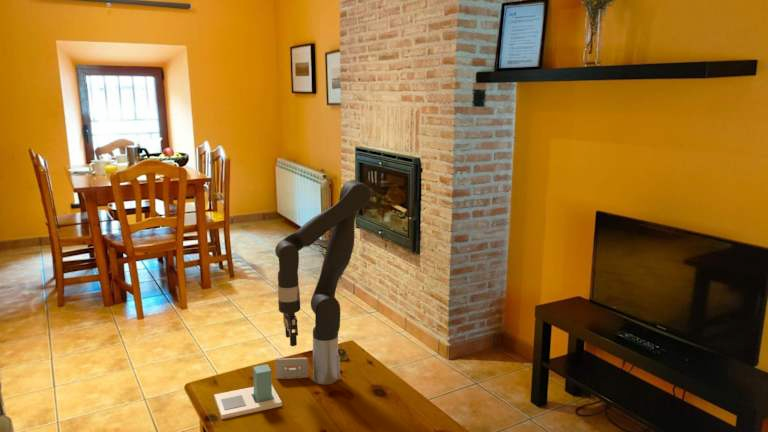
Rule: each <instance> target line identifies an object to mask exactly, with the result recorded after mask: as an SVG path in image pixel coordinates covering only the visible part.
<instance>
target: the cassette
mask: <svg viewBox="0 0 768 432" xmlns="http://www.w3.org/2000/svg"><path fill="white" fill-rule="evenodd" d="M275 378H276V380H277V379H279V380H280V379H281V380H284V379H285V380H287V379H289V380H290V379H303V378H309V358H308V357H289V358H287V357H286V358H276V359H275Z"/></svg>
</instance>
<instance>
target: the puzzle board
mask: <svg viewBox="0 0 768 432" xmlns="http://www.w3.org/2000/svg"><path fill="white" fill-rule="evenodd" d="M213 399H214V402H215V405H216V407H217V411H218V412H219V416H220V418H221V420H225V419H228V418H229V419H230V418H233V417H238V416H242V415H247V414H252V413H256V412H260V411H266V410H270V409H274V408H275V409H276V408H279V407H283V403H282V400H281V398H280V397H279V395H278V393H277V391H276V389H275V388H274V386H273V385H272V400H269V401H264V402H259V403H256V402H255V400H254V386H251V387H246V388H240V389H235V390H230V391H226V392H220V393H215V394H213Z"/></svg>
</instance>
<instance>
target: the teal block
mask: <svg viewBox="0 0 768 432" xmlns="http://www.w3.org/2000/svg"><path fill="white" fill-rule="evenodd" d="M252 372H253V373H252V374H253V375H252V376H253V387H254V398H253V399H254V401H255V403H259V402H264V401H269V400H273V399H272V386H273V384H272V370H271V367H270V366H269V364H261V365H257V366H253V367H252Z"/></svg>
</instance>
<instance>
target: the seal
mask: <svg viewBox="0 0 768 432" xmlns="http://www.w3.org/2000/svg"><path fill="white" fill-rule="evenodd" d="M311 354H312V355H313V351H312V353H311ZM338 355H339V356H340V362H341V361H342V362H343V361H345V360H348V357H349V356H348V354H347V349H346V348H344V347H343V348H342V347H338Z"/></svg>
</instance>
